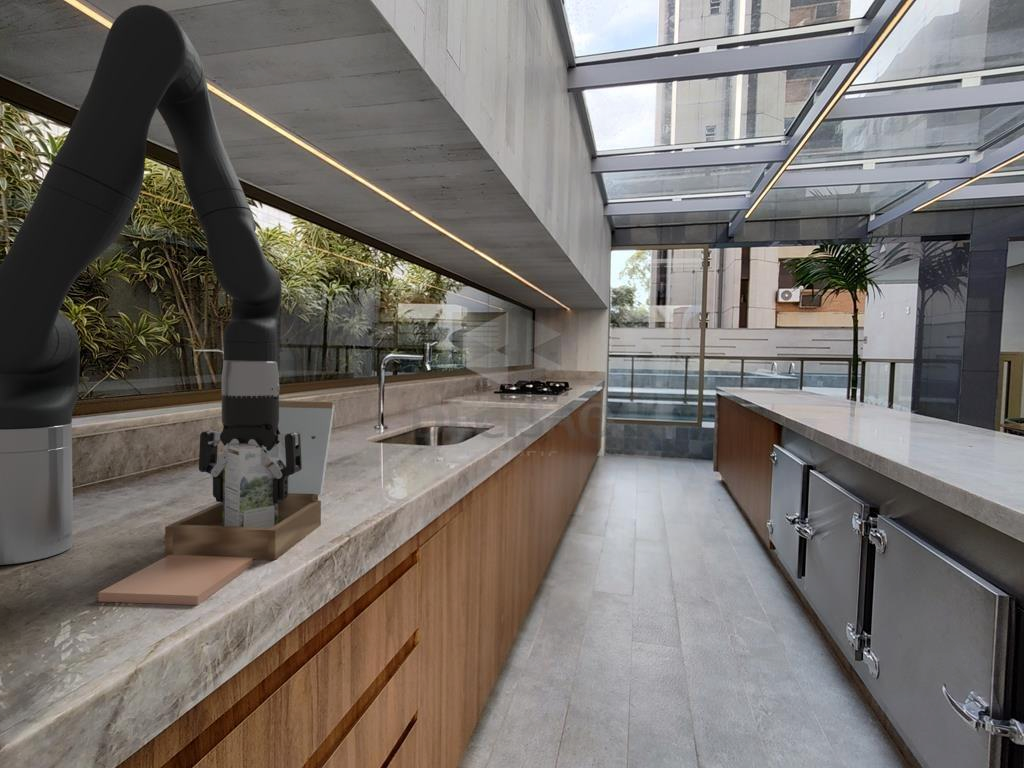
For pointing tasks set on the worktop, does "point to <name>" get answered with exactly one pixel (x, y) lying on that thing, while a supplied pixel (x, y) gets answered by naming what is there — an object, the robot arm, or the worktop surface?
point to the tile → (177, 580)
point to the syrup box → (248, 488)
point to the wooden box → (244, 531)
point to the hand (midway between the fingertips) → (250, 501)
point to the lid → (307, 441)
